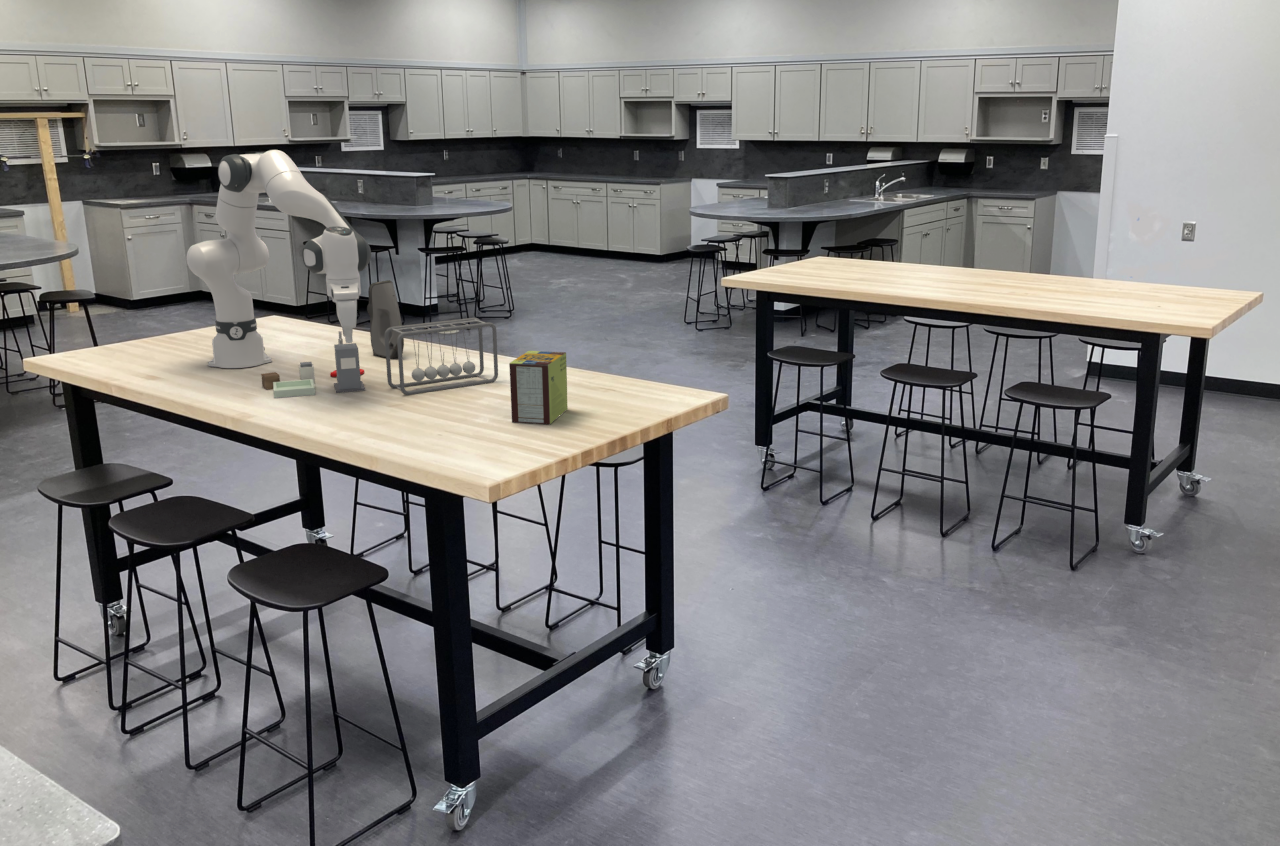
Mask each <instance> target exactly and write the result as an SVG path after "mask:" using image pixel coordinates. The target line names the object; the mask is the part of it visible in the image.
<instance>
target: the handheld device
mask: <svg viewBox="0 0 1280 846" xmlns="http://www.w3.org/2000/svg"><path fill="white" fill-rule="evenodd" d="M366 311H367V314H368V316H369V321H370V323H369V324H370V329H369V333H370V345H371V349H372V354H373V356H374V355H376V356H378V357H381V358H385V359H386V351H385V337H384V335H385V331H386V330H387V329H388V328H390V327H396V326H403V323H402V318H401V313H400V308H399V302H398V299H397V293H396V290H395V287H394V282H393V281H392V280H388V279H387V280H381V281H376V282H372V283H370V284H369V287H368V304H367V306H366ZM398 331H401V332H404V330H398ZM400 334H401V333H399V332H397V331H391V332H390V333H389V349H390V360H391V359H398V346H397V338H398V336H399V335H400ZM404 337H405V336H404ZM404 337H403V338H402V340H401V343H402V354H403V352H404V347H405V338H404Z"/></svg>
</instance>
